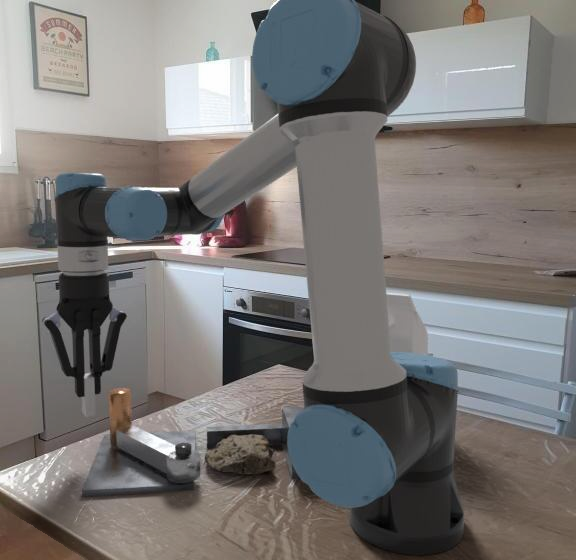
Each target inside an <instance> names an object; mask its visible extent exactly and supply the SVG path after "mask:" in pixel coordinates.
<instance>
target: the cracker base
mask: <svg viewBox="0 0 576 560" xmlns="http://www.w3.org/2000/svg"><path fill="white" fill-rule="evenodd" d="M301 410H302V409H301V407H300V406H282V409H281V412H282V413H281V423H268V424H267V423H265V424H245V425H243V424H242V425H241V424H240V425H219V426H218V425H217V426H206V448H207V449H213V448H215V447H216V445H217V443H219V442H221V441H222V440H223V439H227V438H228V437H229V436H230V435H237V436H242V435H251V434H252V435H255V434H256V435H262V436H264V437H265V438H266V439H267V441H268V443H269V446H273V445H274V446H276V445H281V447H282V450H283V453H284V454H283V455H284V458H285V460H286V463H287V467H288V470H289V471H288V472H289V474H290V477H291V479H299V478H300V477H299V476H298V474H297V472H296V471H295V469H294V467H293V464H292V462H291V459H290V456H289V452H288V446H287V436H288V430H289V427H290V425H291V423H292V422H293V421H294V419H295V417H296V416H297V414H298V413H299V411H301ZM147 432H148V431H147ZM148 433H150V434H152V435H154V436H156V437H159V438H161V439H163V440H165V441H167V442H169V443H171V444H173V445H175V455H176V456H177V457H188V456H190V455H191V450H195V451H196V441H197V431H196V430H194V429H193V430H192V429H191V430H174V431H173V430H172V431H171V430H170V431H151V432H148ZM300 479H301V478H300ZM194 489H195V480H194V481H192V482H188V483H175V482H171V481H170V480H168V478H167V474H166V473H164V472H163V471H161V470H159V469H157V468H155V467H153V466H151V465H150V464H148V463H146V462H144V461H142V460H140V459H138V458H136V457H135V456H133V455H131V454H129V453H127V452H125V451H123V450H122V449H120V448H118V447H114V446H112V445H111V444H110V433H105V434H104V435H103V437H102V440H101V442H100V444H99V447H98V449H97V453H96V454H95V458H94V459H93V461H92V464H91V466H90V469H89V471H88V473H87V477H86V479H85V481H84V483H83V486H82V488H81V498H84V497H85V498H87V497H88V498H89V497H104V496H121V495H132V494H133V495H135V494H136V495H137V494H140V495H141V494H155V493H169V492H171V493H173V492H187V491H189V492H190V491H194Z"/></svg>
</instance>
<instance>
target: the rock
mask: <svg viewBox="0 0 576 560" xmlns="http://www.w3.org/2000/svg"><path fill="white" fill-rule="evenodd" d="M273 455H274V449H273V448H271V445H269V443H268V441H267V439H266V438H265V437H264V436H262V435H256V434H255V435H252V434H251V435H242V436H237V435H230V436H229V437H228V438H227V439H223V440H222V441H221V442H219V443H217V445H216V447H215V448H210V449H207V450H206V453H205V454H204V463H206V465H207V466H210V467H211V468H212V469H214V470H215V471H218V472H222V473H230V472H234V473H236V474H238V475H251V476H254V475H260V474H263V473H265V472H270V471H273V470H275V469H276V466H275V464H274V462H273V460H272V459H273Z"/></svg>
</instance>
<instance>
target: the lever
mask: <svg viewBox="0 0 576 560" xmlns="http://www.w3.org/2000/svg"><path fill="white" fill-rule="evenodd" d="M108 413H109V414H108V417H109V419H108V420H109V434H110V444H111V445H112V446H114V447H118V448H120V449H122V450H123V451H125V452H127V453H129V454H131V455H133V456H135V457H136V458H138V459H140V460H142V461H144V462H146V463H148V464H150V465H151V466H153V467H155V468H157V469H159V470H161V471H163V472H164V473H166V474H167V478H168V480H170V481H171V482H175V483H188V482H192V481H194V482H195V481H196V480H198V479H199V478H200V476H201V453H200V452H199V451H197V450H196V449H195V450H191V455H190V456H188V457H177V456H176V455H175V445H173V444H171V443H169V442H167V441H165V440H163V439H161V438H159V437H156V436H154V435H152V434H150V433H148V431H146V430H143V429H142V428H139V427H137V426H135V425H133V422H132V418H133V417H132V391H131V389H129V388H127V387H126V388H125V387H118V388H114V389H110V390H109V391H108Z"/></svg>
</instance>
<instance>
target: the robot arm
mask: <svg viewBox="0 0 576 560" xmlns="http://www.w3.org/2000/svg"><path fill="white" fill-rule="evenodd" d="M251 54H252V55H251V65H252V70H253V71H252V72H253V75H254V79H255V81H256V83H257V85H258V87H259V88H260V89H261V90H262V91H263V92H264V93H265V94H266V96H267V97H268V98H269V99H270V100H271V101H274V102H275V103H276V104H277V106H276V107H277V114H276V115H274V116H273V117H272V118H270V119H269V120H268V121H266V122H265V123H264V124H262V125H260V127H258V128H256V130H254V131H253V132H251V133H250V134H248V136H246V137H245V138H243V139H242V140H241V141H240V142H238V143H237V144H236V145H234V146H233V147H231V148H230V149H229V150H227V151H226V152H225V153H224V154H222V155H220V156H219V157H218V158H217V159H215V160H214V161H213V162H211V163H210V164H209V165H208V166H207V165H206V167H205V168H203V169H202V170H200V172H198V173H197V174H195V175H194V176H193V177H191V178H190V179H189V180H187V181H186V182H184V183H183V184H181V185H180V186H178V187H149V186H148V187H145V186H131V185H130V186H108V185H107V180H106V177H105V175H104V174H102V173H87V172H75V173H74V172H72V173H71V172H61V173H58V175H57V176H56V177H55V196H54V202H55V203H54V208H55V222H56V239H57V267H58V268H57V269H58V270H59V271H60V272H62V273H60V274H59V275H58V293H59V299H58V300H59V301H58V304H57V306H56V311H55V312H54V313H52V314H51V315H49V316H44V317H43V318H42V320H41V321H42V324H43V325H44V326H45V327H46V328H47V330H48V331H49V334H50V336H51V339H52V343H53V347H54V349H55V352H56V355H57V356H56V357H57V359H58V362H59V365H60V368H61V371H62V373H63V374H64V375H65V376H66V377H73V378H74V394H75V395H76V396H77V398H81V412H82V414H83V415H84V417H85V418H90V417H96V395H100V394H101V391H102V388H101V387H102V386H101V384H102V383H101V381H102V380H101V377H102V376H103V373H105V372H109V371H111V370H112V368H113V365H114V361H115V360H114V359H115V357H116V356H115V354H116V351H117V347H118V342H119V337H120V332H121V328H122V326H123V324H124V323H125V321H126V320H127V317H128V316H127V313H126V312H124V311H122V310H121V309H120V310H119V309H116V308H115V307H114V306H113V302H112V300H111V298H110V279H109V278H110V275H109V274H108V272H107V269H109V251H108V249H109V248H108V247H109V246H108V245H109V240H108V238H113V239H115V238H116V239H122V240H126V241H129V242H130V241H131V242H135V241H151V240H152V239H155V237H157V238H158V237H166V236H183V235H185V236H186V235H197V236H198V235H202V234H204V233H210V232H213V231H215V230H217V228H219V227H220V224H221V222H222V221H223V220H224V217H225V214H226V213H228V212H230V211H231V210H233V209H234V208H235V207H237V206H239V205H240V204H242V203H243V202H245V201H246V200H248V199H250V198H251V197H252V196H254V195H256V194H257V193H259V192H260V191H262V190H263V189H265V188H266V187H268V186H269V185H271V184H273V183H274V182H276V181H278V180H279V179H280V178H282V177H283V176H285V175H286V174H288V173H290V172H291V171H292V170H294V169H295V168H296V172H297V183H298V193H299V194H298V195H299V206H300V207H299V208H300V217H301V228H302V239H303V251H304V260H305V262H304V263H305V272H306V284H307V294H308V295H307V296H308V307H309V308H308V309H309V318H310V319H309V320H310V329H311V340H312V350H313V351H312V353H313V362H312V364H311V366H310V367H309V368H308V370H306V372H305V373H304V374H303V375H302V377H301V378H302V379H301V382H302V384H301V385H302V395H303V407H304V408H303V409H301V411H299V413H298V414H297V416H296V417H295V419H294V421H293V422H292V423H291V425H290V427H289V430H288V436H287V446H288V452H289V456H290V459H291V462H292V464H293V467H294V469H295V471H296V472H297V474H298V476H299V477H300V480H301V481H302V482H303V483H305V484H306V485H307V486H308V487H309V489H310V490H311V491H312V492H313V494H315V495H316V497H319V498H320V499H322V500H323V501H325V502H327V503H330V504H331V505H333V506H337V507H342V508H347V509H349V513H348V514H349V515H348V516H349V522H350V525H351V527H352V529H353V530H354V532H355V533H356V534H357V535H358V536H359V537H361V539H363V540H364V541H366V542H368V543H369V544H371V545H374V546H375V547H378V548H380V549H382V550H383V549H384V550H387V551H389V552H392V553H397V554H403V555H405V554H406V555H412V556H413V555H415V556H422V555H423V556H424V555H433V554H438V553H442V552H445V551H447V550H450V549H451V548H454V547H455V546H456V545H458V543H459V542H460V541H461V540H462V538H463V536H464V530H465V513H464V508H463V504H462V501H461V498H460V493H459V491H458V486H457V482H456V479H455V476H454V457H455V446H456V445H455V442H456V429H457V428H456V427H457V412H458V411H457V409H458V395H459V393H460V387H459V377H458V375H459V373H458V369H457V367H456V366H455V364H453V363H452V362H450V361H448V360H446V359H444V358H443V359H442V358H440V357H437V356H431V355H422V354H415V353H406V352H391V347H390V334H389V321H388V308H387V295H386V293H387V285H386V283H387V282H386V271H385V270H386V269H385V259H384V258H385V257H384V244H383V243H384V242H383V232H382V230H383V229H382V219H381V218H382V216H381V207H380V206H381V205H380V204H381V203H380V192H379V191H380V190H379V180H378V178H379V177H378V167H377V155H376V153H377V152H376V141H375V140H376V137H377V135H378V133H379V132H380V131H381V130H382V129H383V127H384V126H385V125H386V123H387V122H388V117H389V116H391V114H392V113H394V112H395V111H396V110H397V109H398V108H399V107H400V106H401V105H402V104H403V103H404V101H405V100H406V99H407V97H408V96H409V93H410V91H411V89H412V87H413V84H414V81H415V78H416V74H417V73H416V72H417V57H416V52H415V48H414V45H413V43H412V41H411V39H410V37H409V35H408V34H407V32H406V31H405V30H404V28H403V27H401V26H400V25H399V24H398V23H397V22H395V21H394V20H393V19H391V18H390V17H387V16H385V15H382V14H380V13H378V12H377V11H375V10H373V9H370V8H369V7H366V6H365V5H363V4H361V3H360V2H357V1H355V0H276V1H275V2H274V3H273V4H272V5H271V6H270V8H269V9H268V11H267V15H266V17H265V18H264V19H263V20H261V21H260V23H259V26H258V28H257V31H256V33H255V37H254V41H253V46H252V53H251ZM108 317H109V320H110V321H109V324H108V328H107V334H106V338H105V342H104V348H103V351H102V355H101V334H102V333H101V326H102V325H103V324H104V322H105V321H106V319H107V318H108ZM61 319H62V320H63V322H65V324H66V325H67V326H68V327H69V328H70V331H71V335H72V336H71V339H72V364H73V365H71V361H70V358H69V354H68V352H67V348H66V346H65V345H66V344H65V342H64V339H63V336H62V333H61V331H60V329H59V328H60V327H61V325H62V324H61ZM86 330H87V332H88V333H87V334H88V350H89V351H88V352H89V353H88V356H89V370H90V372H87V373H86V371H85V346H84V345H85V343H84V339H85V331H86ZM101 356H102V357H101Z"/></svg>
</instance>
